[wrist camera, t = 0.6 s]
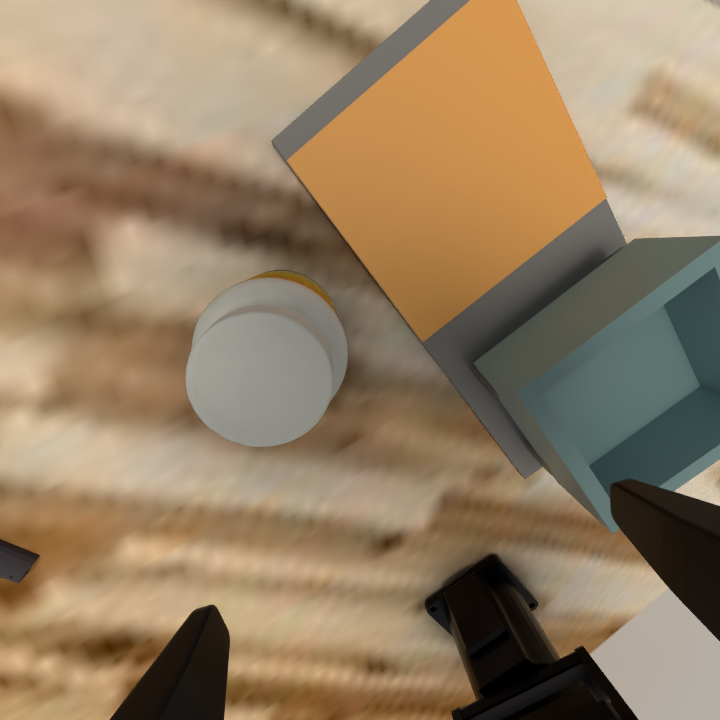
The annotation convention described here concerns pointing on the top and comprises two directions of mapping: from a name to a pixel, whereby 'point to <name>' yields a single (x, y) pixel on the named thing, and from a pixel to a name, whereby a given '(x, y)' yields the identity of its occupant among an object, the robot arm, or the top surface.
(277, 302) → the supplement bottle
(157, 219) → the top surface
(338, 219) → the track
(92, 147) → the top surface
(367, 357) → the top surface
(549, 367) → the box
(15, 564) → the bracket
